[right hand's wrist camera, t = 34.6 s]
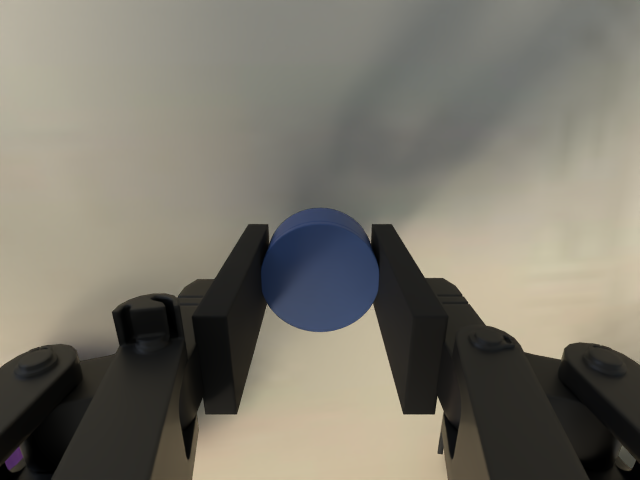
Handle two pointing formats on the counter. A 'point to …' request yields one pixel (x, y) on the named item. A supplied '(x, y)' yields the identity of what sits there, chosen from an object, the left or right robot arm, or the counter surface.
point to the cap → (320, 271)
